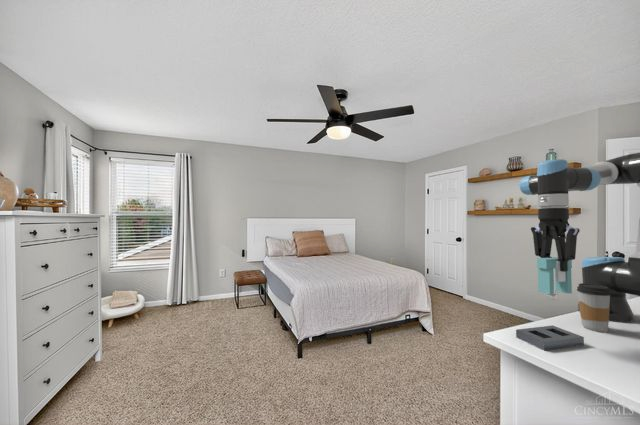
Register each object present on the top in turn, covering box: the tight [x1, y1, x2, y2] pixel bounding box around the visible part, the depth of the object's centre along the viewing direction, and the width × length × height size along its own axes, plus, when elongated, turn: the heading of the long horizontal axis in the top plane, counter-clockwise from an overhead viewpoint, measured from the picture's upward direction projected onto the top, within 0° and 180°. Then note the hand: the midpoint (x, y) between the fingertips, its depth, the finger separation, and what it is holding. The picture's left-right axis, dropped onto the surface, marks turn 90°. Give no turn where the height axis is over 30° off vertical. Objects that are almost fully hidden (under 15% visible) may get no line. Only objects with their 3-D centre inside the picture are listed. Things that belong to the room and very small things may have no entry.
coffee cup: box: [576, 282, 611, 333], centre depth 92 cm, size 8×8×15 cm
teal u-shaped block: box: [536, 256, 573, 296], centre depth 85 cm, size 10×4×11 cm, turn 101°
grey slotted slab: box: [515, 325, 585, 352], centre depth 84 cm, size 15×9×2 cm, turn 101°
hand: (554, 279), depth 85 cm, fingers closed on teal u-shaped block, 3 cm apart
